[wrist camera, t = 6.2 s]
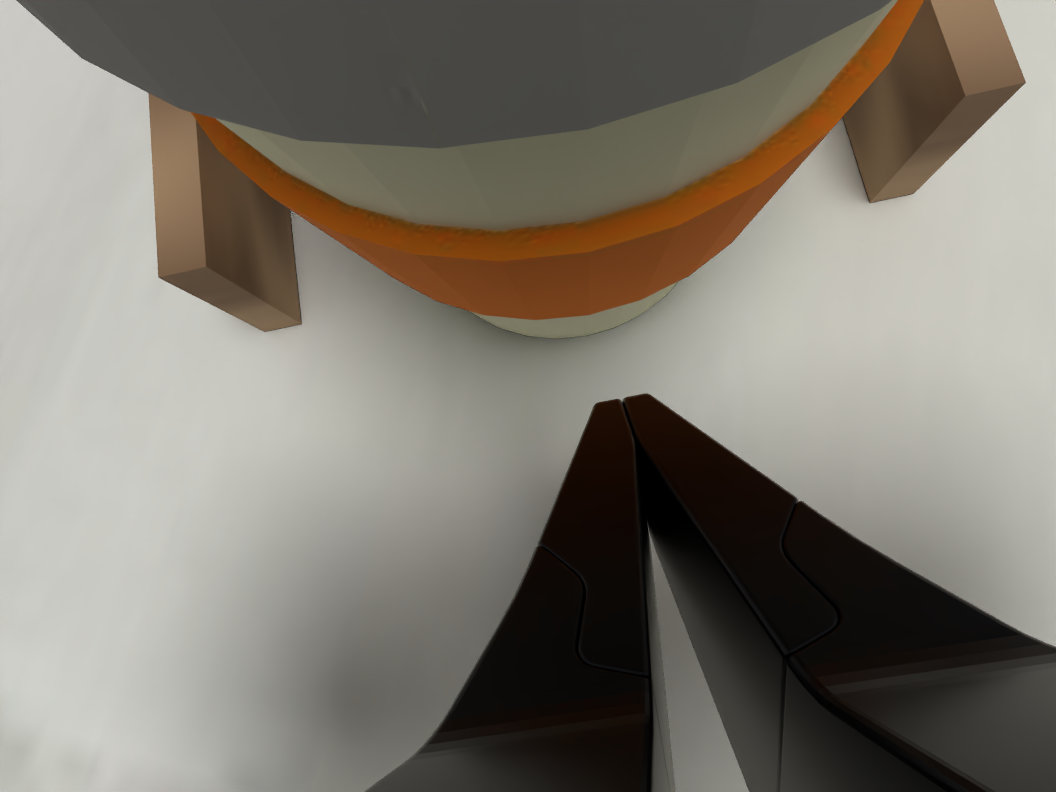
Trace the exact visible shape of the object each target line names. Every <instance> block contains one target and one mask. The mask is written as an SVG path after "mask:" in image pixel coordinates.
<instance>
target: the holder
mask: <svg viewBox="0 0 1056 792" xmlns="http://www.w3.org/2000/svg"><path fill="white" fill-rule="evenodd" d="M1025 83H1026V82H1025V79H1024V77H1023V74H1022V71H1021V69H1020V66H1019V64H1018V61H1017V59H1016V56H1015V53H1014V51H1013V48H1012V46H1011V43H1010V41H1009V38H1008V36H1007V33H1006V30H1005V28H1004V25H1003V23H1002V20H1001V18H1000V15H999V12H998V10H997V7H996V5H995V2H994V0H924V1H923V3H922V5H921V7H920V9H919V10H918V12H917V14H916V16H915V18H914V19H913V21H912V23H911V25H910V27H909V29H908V30H907V32H906V34H905V36H904V38H903V39H902V41H901V43H900V45H899V47H898V49H897V50H896V52H895V54H894V56H893V58H892V59H891V61H890V63H889V64H888V65H887V66H886V67H885V68H884V70H883V71H882V72H881V73H880V74H879V75H878V76H877V78H876V79H875V80H874V81H873V82H872V83H871V85H870V86H869V87H868V88H867V89H866V90H865V91H864V93H863V94H862V95H861V96H860V97H859V98H858V99H857V101H856V102H855V103H854V104H853V105H852V106H851V108H850V109H849V110H848V111H847V112H846V113H845V114H844V116H843V119H844V122H845V125H846V128H847V132H848V135H849V138H850V141H851V144H852V147H853V151H854V154H855V157H856V160H857V163H858V166H859V170H860V173H861V176H862V179H863V182H864V185H865V189H866V192H867V195H868V198H869V201H870V203H871V202H876V201H880V200H885V199H890V198H894V197H899V196H904V195H909V194H913V193H915V192H916V191H917V190H918V189H919V188H920V187H921V186H922V185H923V184H924V183H925V182H926V181H927V180H928V179H929V178H930V177H931V176H932V175H933V174H934V173H935V172H936V171H937V170H938V169H939V168H940V167H941V166H942V165H943V164H944V163H945V162H946V161H947V160H948V159H949V158H950V157H951V156H952V155H953V154H954V153H955V152H956V151H957V150H958V149H959V148H960V147H961V146H962V145H963V144H964V143H965V142H966V141H967V140H968V139H969V138H970V137H971V136H972V135H973V134H974V133H975V132H976V131H977V130H978V129H979V128H980V127H981V126H982V125H983V124H984V123H985V122H986V121H987V120H988V119H989V118H990V117H991V116H992V115H993V114H994V113H995V112H996V111H997V110H998V109H999V108H1000V107H1001V106H1002V105H1003V104H1004V103H1005V102H1006V101H1008V100H1009V99H1010V98H1011V97H1012V96H1013V95H1014V94H1015V93H1016V92H1017V91H1018V90H1019V89H1020V88H1021V87H1022V86H1023V85H1024V84H1025ZM149 109H150V128H151V147H152V165H153V184H154V202H155V221H156V240H157V258H158V277H159V278H161V279H162V280H164V281H166V282H168V283H170V284H172V285H174V286H176V287H178V288H180V289H182V290H184V291H186V292H188V293H190V294H192V295H194V296H196V297H198V298H200V299H202V300H203V301H205V302H207V303H209V304H211V305H213V306H215V307H217V308H219V309H221V310H223V311H225V312H227V313H229V314H231V315H233V316H235V317H237V318H239V319H241V320H243V321H244V322H246V323H248V324H250V325H252V326H254V327H256V328H258V329H260V330H262V331H264V332H266V331H270V330H275V329H280V328H285V327H289V326H294V325H299V324H301V316H300V307H299V297H298V287H297V278H296V268H295V258H294V248H293V239H292V229H291V219H290V210H289V208H287V207H286V206H284V205H283V204H281V203H280V202H278V201H277V200H275V199H274V198H272V197H271V196H270V195H268V194H267V193H266V192H265V191H264V190H263V189H261V188H260V187H259V186H258V185H257V184H256V183H255V182H253V181H252V180H251V179H250V178H249V177H248V176H247V175H245V174H244V173H243V172H242V171H241V170H240V169H238V168H237V167H236V166H235V165H234V164H233V163H232V162H230V161H229V160H228V159H227V158H226V157H225V156H223V155H222V154H221V153H220V152H219V151H218V150H217V148H216V147H215V146H214V144H213V143H212V141H211V140H210V139H209V137H208V136H207V134H206V133H205V132H204V130H203V129H202V127H201V126H200V125H199V123H198V122H197V120H196V119H195V118H194V116H193V115H192V114H191V112H189V111H185V110H182V109H179V108H177V107H175V106H173V105H171V104H169V103H167V102H165V101H163V100H162V99H160V98H158V97H156V96H154V95H152V94H150V93H149Z"/></svg>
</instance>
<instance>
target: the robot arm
mask: <svg viewBox="0 0 1056 792" xmlns="http://www.w3.org/2000/svg"><path fill="white" fill-rule="evenodd" d="M648 528H649V532H650V535H651V538H652V541H653V544H654V547H655V549H656V552H657V555H658V557H659V560H660V562H661V565H662V568H663V570H664V573H665V575H666V578H667V580H668V583H669V586H670V588H671V591H672V593H673V596H674V599H675V601H676V604H677V606H678V609H679V611H680V614H681V617H682V619H683V622H684V624H685V627H686V630H687V632H688V635H689V637H690V640H691V642H692V645H693V648H694V650H695V653H696V655H697V658H698V661H699V663H700V666H701V668H702V671H703V673H704V676H705V679H706V681H707V684H708V686H709V689H710V692H711V694H712V697H713V699H714V702H715V704H716V707H717V710H718V712H719V715H720V717H721V720H722V722H723V725H724V728H725V730H726V733H727V735H728V738H729V741H730V743H731V746H732V748H733V751H734V753H735V756H736V759H737V761H738V764H739V766H740V769H741V772H742V774H743V777H744V779H745V782H746V784H747V787H748V790H749V792H1056V647H1055V646H1052V645H1050V644H1047V643H1045V642H1043V641H1040V640H1038V639H1036V638H1034V637H1031V636H1029V635H1027V634H1025V633H1023V632H1021V631H1019V630H1017V629H1015V628H1013V627H1011V626H1010V625H1008V624H1006V623H1004V622H1002V621H1000V620H999V619H997V618H995V617H993V616H992V615H990V614H988V613H986V612H984V611H983V610H981V609H979V608H977V607H976V606H974V605H972V604H970V603H969V602H967V601H965V600H963V599H961V598H960V597H958V596H956V595H954V594H953V593H951V592H949V591H947V590H946V589H944V588H942V587H940V586H938V585H937V584H935V583H933V582H931V581H930V580H928V579H926V578H924V577H923V576H921V575H919V574H917V573H915V572H914V571H912V570H910V569H908V568H907V567H905V566H903V565H901V564H900V563H898V562H896V561H894V560H893V559H891V558H889V557H888V556H886V555H884V554H883V553H881V552H879V551H878V550H876V549H874V548H873V547H871V546H869V545H867V544H866V543H864V542H862V541H861V540H859V539H857V538H856V537H854V536H853V535H851V534H850V533H848V532H847V531H845V530H844V529H842V528H841V527H839V526H838V525H836V524H835V523H833V522H832V521H830V520H829V519H827V518H826V517H824V516H823V515H821V514H820V513H818V512H817V511H815V510H814V509H813V508H811V507H810V506H808V505H807V504H805V503H804V502H802V501H799V502H798V499H797V498H796V497H795V496H794V495H792V494H791V493H789V492H788V491H787V490H785V489H784V488H782V487H781V486H779V485H778V484H777V483H775V482H774V481H772V480H771V479H770V478H768V477H767V476H765V475H764V474H762V473H761V472H760V471H758V470H757V469H755V468H754V467H752V466H751V465H750V464H748V463H747V462H745V461H744V460H743V459H741V458H740V457H738V456H737V455H735V454H734V453H733V452H731V451H730V450H728V449H727V448H725V447H724V446H723V445H721V444H720V443H718V442H717V441H715V440H714V439H713V438H711V437H710V436H708V435H707V434H706V433H704V432H703V431H701V430H700V429H698V428H697V427H696V426H694V425H693V424H691V423H690V422H688V421H687V420H686V419H684V418H683V417H681V416H680V415H678V414H677V413H676V412H674V411H673V410H671V409H670V408H669V407H667V406H666V405H664V404H663V403H661V402H660V401H659V400H657V399H656V398H654V397H653V396H651V395H650V394H640V395H635V396H630V397H626V398H624V399H623V401H621V400H619V399H614V400H609V401H604V402H599V403H596V404H595V405H594V407H593V409H592V412H591V414H590V417H589V419H588V422H587V424H586V427H585V429H584V431H583V434H582V436H581V439H580V441H579V444H578V446H577V449H576V451H575V453H574V456H573V458H572V461H571V463H570V466H569V468H568V471H567V473H566V475H565V478H564V480H563V483H562V485H561V488H560V490H559V492H558V495H557V497H556V500H555V502H554V505H553V507H552V510H551V512H550V514H549V517H548V519H547V522H546V524H545V527H544V529H543V532H542V534H541V536H540V539H539V541H538V546H537V547H536V548H535V550H534V553H533V555H532V558H531V560H530V563H529V565H528V568H527V570H526V572H525V574H524V576H523V579H522V581H521V583H520V585H519V587H518V589H517V592H516V594H515V596H514V598H513V600H512V602H511V603H510V605H509V607H508V609H507V611H506V613H505V614H504V616H503V618H502V620H501V622H500V624H499V625H498V627H497V629H496V631H495V632H494V634H493V636H492V638H491V639H490V641H489V643H488V644H487V646H486V648H485V650H484V651H483V653H482V655H481V656H480V658H479V660H478V662H477V663H476V665H475V667H474V668H473V670H472V672H471V674H470V675H469V677H468V679H467V680H466V682H465V684H464V686H463V687H462V689H461V691H460V693H459V694H458V696H457V698H456V699H455V701H454V703H453V705H452V706H451V708H450V710H449V711H448V713H447V714H446V716H445V718H444V719H443V721H442V722H441V724H440V725H439V726H438V728H437V729H436V731H435V732H434V733H433V735H432V736H431V737H430V738H429V739H428V740H427V742H426V743H425V744H424V745H423V746H422V747H421V748H420V749H419V750H418V751H417V752H416V753H415V754H414V755H413V756H412V757H411V758H410V759H408V760H407V761H406V762H404V763H403V764H402V765H400V766H399V767H398V768H396V769H395V770H394V771H392V772H391V773H389V774H388V775H387V776H385V777H384V778H383V779H381V780H380V781H378V782H377V783H376V784H374V785H373V786H372V787H370V788H369V789H368V790H366V791H365V792H675V783H674V773H673V763H672V753H671V744H670V734H669V724H668V714H667V704H666V694H665V684H664V674H663V664H662V654H661V645H660V635H659V625H658V615H657V605H656V595H655V585H654V575H653V565H652V556H651V547H650V539H649V532H648Z"/></svg>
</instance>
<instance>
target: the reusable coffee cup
mask: <svg viewBox="0 0 1056 792" xmlns="http://www.w3.org/2000/svg"><path fill="white" fill-rule="evenodd" d="M17 1H18V2H19V3H20V4H21V5H22V6H23V7H24V8H26V9H27V10H28V11H29V12H30V13H31V14H32V15H34V16H35V17H36V18H37V19H38V20H39V21H40V22H41V23H43V24H44V25H45V26H46V27H47V28H48V29H49V30H50V31H52V32H53V33H54V34H55V35H56V36H57V37H58V38H60V39H61V40H62V41H63V42H64V43H65V44H66V45H67V46H69V47H70V48H71V49H72V50H73V51H74V52H75V53H77V54H78V55H79V56H80V57H81V58H82V59H84V60H86V61H88V62H90V63H92V64H94V65H96V66H98V67H100V68H102V69H104V70H106V71H108V72H109V73H111V74H113V75H115V76H117V77H119V78H121V79H123V80H125V81H127V82H129V83H131V84H133V85H135V86H136V87H138V88H140V89H142V90H144V91H146V92H148V93H150V94H152V95H154V96H156V97H158V98H160V99H162V100H163V101H165V102H167V103H169V104H171V105H173V106H175V107H177V108H179V109H182V110H185V111H189V112H191V114H192V115H193V116H194V118H195V119H196V120H197V122H198V123H199V125H200V126H201V127H202V129H203V130H204V132H205V133H206V134H207V136H208V137H209V139H210V140H211V141H212V143H213V144H214V146H215V147H216V148H217V150H218V151H219V152H220V153H221V154H222V155H223V156H225V157H226V158H227V159H228V160H229V161H230V162H232V163H233V164H234V165H235V166H236V167H237V168H238V169H240V170H241V171H242V172H243V173H244V174H245V175H247V176H248V177H249V178H250V179H251V180H252V181H253V182H255V183H256V184H257V185H258V186H259V187H260V188H261V189H263V190H264V191H265V192H266V193H267V194H268V195H270V196H271V197H272V198H274V199H275V200H277V201H278V202H280V203H281V204H283V205H284V206H286V207H287V208H289V209H290V210H292V211H293V212H295V213H296V214H298V215H299V216H301V217H302V218H304V219H305V220H307V221H308V222H310V223H311V224H313V225H314V226H316V227H317V228H319V229H320V230H322V231H324V232H325V233H327V234H328V235H330V236H331V237H333V238H334V239H336V240H337V241H339V242H340V243H342V244H343V245H345V246H346V247H348V248H349V249H351V250H352V251H354V252H355V253H357V254H358V255H360V256H361V257H363V258H364V259H366V260H367V261H369V262H370V263H372V264H373V265H375V266H376V267H378V268H380V269H381V270H383V271H384V272H386V273H387V274H389V275H390V276H392V277H393V278H395V279H397V280H398V281H400V282H402V283H404V284H406V285H408V286H410V287H411V288H413V289H415V290H417V291H419V292H421V293H422V294H424V295H426V296H428V297H430V298H432V299H434V300H435V301H438V302H441V303H445V304H448V305H451V306H455V307H458V308H461V309H465V310H468V311H470V312H471V313H473V314H474V315H476V316H478V317H480V318H482V319H484V320H486V321H487V322H489V323H491V324H493V325H495V326H497V327H499V328H502V329H505V330H509V331H512V332H515V333H519V334H522V335H525V336H534V337H544V338H554V339H557V338H568V337H579V336H587V335H591V334H594V333H598V332H601V331H605V330H608V329H612V328H615V327H617V326H619V325H621V324H623V323H625V322H627V321H629V320H631V319H633V318H635V317H637V316H639V315H641V314H643V313H644V312H645V311H647V310H648V309H649V308H651V307H652V306H653V305H654V304H656V303H657V302H658V301H660V300H661V299H662V298H663V297H665V296H666V295H667V294H668V293H669V292H670V291H671V289H672V288H673V287H674V286H675V285H676V284H677V283H678V281H680V280H682V279H684V278H686V277H688V276H689V275H691V274H692V273H693V272H695V271H696V270H697V269H698V268H700V267H701V266H702V265H704V264H705V263H706V262H707V261H709V260H710V259H711V258H713V257H714V256H715V255H717V254H718V253H719V252H720V251H722V250H723V249H724V248H726V247H727V246H728V245H729V244H731V243H732V242H733V241H734V240H735V238H736V237H737V236H738V235H739V234H740V233H741V232H742V230H743V229H744V228H745V227H746V226H747V225H748V224H749V222H750V221H751V220H752V219H753V218H754V217H755V216H756V215H757V213H758V212H759V211H760V210H761V209H762V208H763V207H764V205H765V204H766V203H767V202H768V201H769V200H770V199H771V197H772V196H773V195H774V194H775V193H776V192H777V191H778V190H779V188H780V187H781V186H782V185H783V184H784V183H785V182H786V180H787V179H788V178H789V177H790V176H791V175H792V174H793V173H794V171H795V170H796V169H797V168H798V167H799V166H800V165H801V163H802V162H803V161H804V160H805V159H806V158H807V157H808V155H809V154H810V153H811V152H812V151H813V150H814V149H815V148H816V146H817V145H818V144H819V143H820V142H821V141H822V140H823V138H824V137H825V136H826V135H827V134H828V133H829V132H830V130H831V129H832V128H833V127H834V126H835V125H836V124H837V122H838V121H839V120H840V119H841V118H842V117H843V116H844V114H845V113H846V112H847V111H848V110H849V109H850V108H851V106H852V105H853V104H854V103H855V102H856V101H857V99H858V98H859V97H860V96H861V95H862V94H863V93H864V91H865V90H866V89H867V88H868V87H869V86H870V85H871V83H872V82H873V81H874V80H875V79H876V78H877V76H878V75H879V74H880V73H881V72H882V71H883V70H884V68H885V67H886V66H887V65H888V64H889V63H890V61H891V59H892V58H893V56H894V54H895V52H896V50H897V49H898V47H899V45H900V43H901V41H902V39H903V38H904V36H905V34H906V32H907V30H908V29H909V27H910V25H911V23H912V21H913V19H914V18H915V16H916V14H917V12H918V10H919V9H920V7H921V5H922V3H923V1H924V0H17Z"/></svg>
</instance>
